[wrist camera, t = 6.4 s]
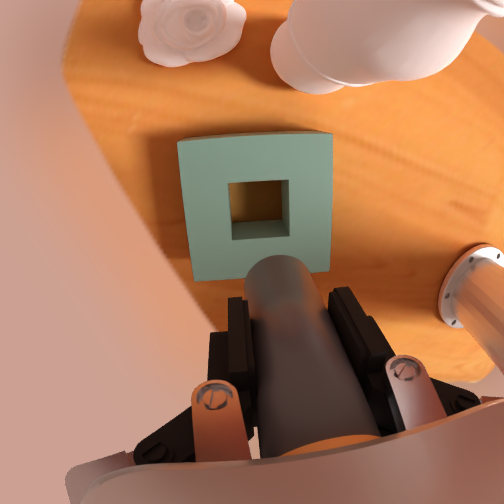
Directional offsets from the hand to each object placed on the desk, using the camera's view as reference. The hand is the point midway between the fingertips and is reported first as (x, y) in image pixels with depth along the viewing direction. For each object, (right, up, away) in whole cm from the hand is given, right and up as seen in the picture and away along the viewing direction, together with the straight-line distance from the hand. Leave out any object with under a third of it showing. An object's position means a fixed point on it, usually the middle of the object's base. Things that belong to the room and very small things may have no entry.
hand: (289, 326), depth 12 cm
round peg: (0, +1, +3) cm, 3 cm away
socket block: (-1, +8, +18) cm, 19 cm away
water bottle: (+3, +20, +13) cm, 24 cm away
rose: (-7, +23, +11) cm, 27 cm away
